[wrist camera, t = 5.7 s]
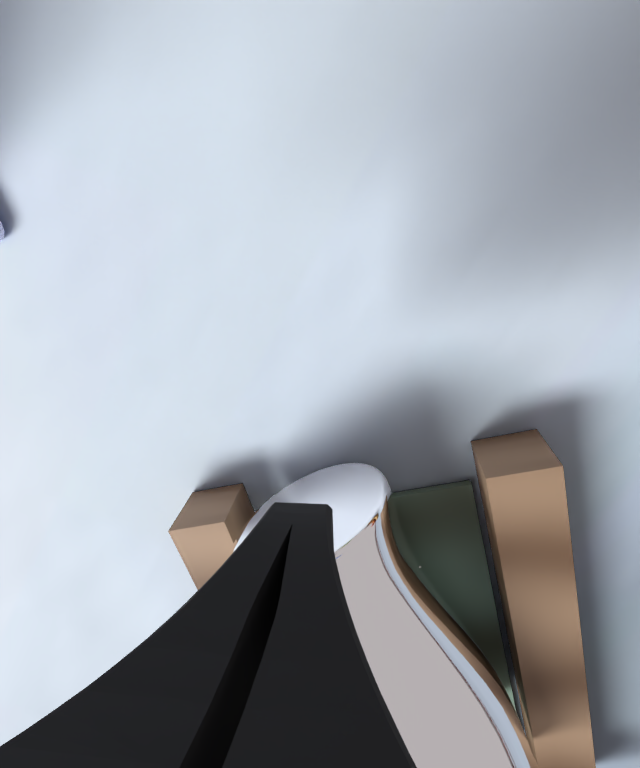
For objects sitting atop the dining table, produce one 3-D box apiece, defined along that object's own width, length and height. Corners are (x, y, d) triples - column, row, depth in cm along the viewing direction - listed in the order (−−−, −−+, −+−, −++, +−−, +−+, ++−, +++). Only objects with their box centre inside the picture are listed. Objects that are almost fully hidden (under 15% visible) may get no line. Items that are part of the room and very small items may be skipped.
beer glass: (237, 501, 19) (380, 734, 23) (193, 629, 12) (407, 933, 16) (382, 434, 18) (507, 685, 22) (420, 531, 12) (592, 872, 15)
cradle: (192, 492, 19) (150, 559, 16) (536, 429, 16) (583, 494, 13) (323, 775, 26) (315, 868, 23) (580, 768, 23) (618, 873, 20)
